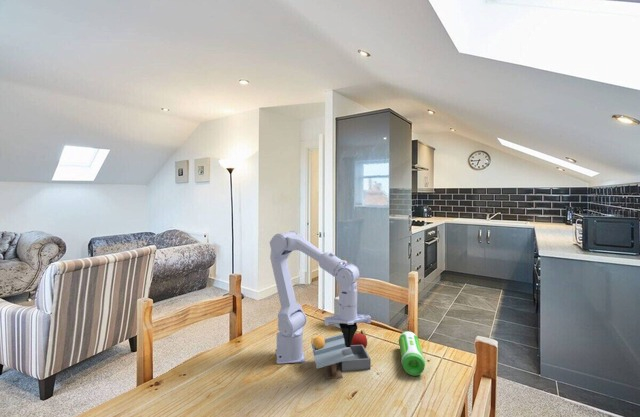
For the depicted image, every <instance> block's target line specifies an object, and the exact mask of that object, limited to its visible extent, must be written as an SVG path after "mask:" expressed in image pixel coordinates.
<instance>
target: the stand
mask: <svg viewBox="0 0 640 417" xmlns="http://www.w3.org/2000/svg"><path fill="white" fill-rule="evenodd" d="M323 371H324V374H325V378H326V380H331V379H332V380H333V379H334V380H335V379H343V377H344V376H343V372H342V370H341V367H340V364H339V362H338V363H335V364H331V365H328V366H324V367H323Z"/></svg>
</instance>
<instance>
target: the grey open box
mask: <svg viewBox="0 0 640 417" xmlns="http://www.w3.org/2000/svg"><path fill="white" fill-rule="evenodd" d="M350 348H351V350H352V352H353V354H354V358H353V359H349V360H346V361H342V362H338V364H339V367H340V370H341V373H343V372H344V373H345V372H355V371H357V372H358V371H368V370H371V367H372V366H371V357H370V356H369V353H368V352H367V350H366V348H364V346H363V345H351V346H350Z"/></svg>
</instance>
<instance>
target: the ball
mask: <svg viewBox="0 0 640 417" xmlns="http://www.w3.org/2000/svg"><path fill="white" fill-rule="evenodd" d="M324 339H325V338H324V337H322V336H320V335H317V336H315V337H314V339H313V340H312V342H313V345H314V347H315V348H316V349H322V348H323V347H324V345H325V340H324Z"/></svg>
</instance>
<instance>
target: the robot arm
mask: <svg viewBox="0 0 640 417" xmlns="http://www.w3.org/2000/svg"><path fill="white" fill-rule="evenodd" d="M269 246H270V257H269V258H270V263H271V267H272V272H273V277H274V280H275V285H276V290H277V293H278V298H279V302H280V309H279V311H278V313H277V318H278V320H277V328H278V332H276V348H275V356H276V364H277V365H280V364H292V363H297V364H298V363H304V362H305V353H304V347H303V346H304V345H303V342H304V340H303V339H304V338H303V337H304V326H305V325H306V324H307V321H308V320H307V316H306V313H305V312H304V310H303V307H302V305H301V304H300V303H298V302H297V299H296V295H295V290H294V286H293V281H292V278H291V277H292V276H291V272H290V269H289V265H288V258H289V256H290V254H291V253H292V252H293V251H299V252H302V254H305V255H307V256H308V257H309V258H311V259H313V260H314V261H316V262H317V263H318V266H319V268H321V269H322V270H324V271H325V272H326V273H328V274H330V275H331V276H332V277H334V278H335V280H336V282H337V284H338V297H339V315H335V316H334V315H331V316H326V317H324V325H325V326H330V325H334V324H339V325H340V328H341V334H343V337H344V341H345V346H346V347H350V346H351V342H352V339H353V336H354V334H355V332H356V331H358V324H364V323H367V324H371V323H372V317H371V316H370V314H360V313H359V314H358V280H359V279H360V275H361V272H360V269H359V267H358V266H357V265H355V264H354V263H348V261H346V260H342V259H341V258H340V257H338V256H336V253H335V252H332V251H331V252H330V251H328V252H323V251H322V250H321V249H319V248H318V247H317V246H315V245H314V244H312V243H311V242H310V241H308V240H307V239H305V237H304V236H303V235H302V234H300V233H298V232H297V231H294V230H291V231H287V232H283V233H276V234H274V235H273V236H272V238H271V239H270V241H269ZM340 328H339V329H340Z"/></svg>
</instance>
